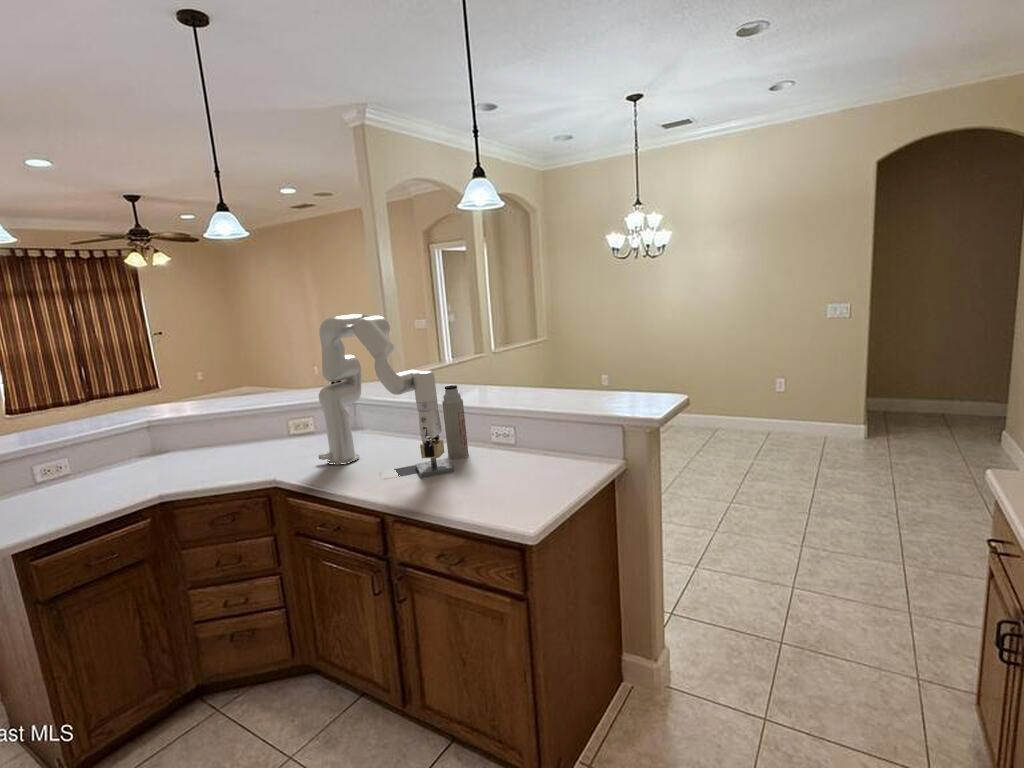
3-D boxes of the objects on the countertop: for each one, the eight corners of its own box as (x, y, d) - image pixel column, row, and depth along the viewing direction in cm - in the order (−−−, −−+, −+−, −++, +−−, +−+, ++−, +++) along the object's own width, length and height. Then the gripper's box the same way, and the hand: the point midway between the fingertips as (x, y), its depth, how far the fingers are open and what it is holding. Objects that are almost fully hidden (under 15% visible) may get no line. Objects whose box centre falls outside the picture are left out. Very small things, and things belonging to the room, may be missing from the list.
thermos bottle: (472, 453, 210) (465, 384, 205) (458, 459, 204) (451, 388, 199) (457, 451, 215) (450, 383, 210) (444, 457, 209) (436, 387, 204)
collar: (421, 458, 190) (420, 444, 189) (427, 452, 196) (426, 439, 195) (438, 457, 189) (437, 444, 188) (444, 452, 195) (442, 439, 194)
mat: (381, 480, 188) (381, 480, 187) (379, 472, 197) (379, 471, 197) (421, 473, 192) (421, 472, 192) (416, 465, 201) (416, 464, 201)
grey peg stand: (421, 478, 186) (417, 451, 184) (415, 469, 197) (412, 443, 195) (454, 472, 190) (451, 445, 188) (447, 463, 201) (444, 437, 199)
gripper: (428, 410, 180) (435, 461, 183) (444, 399, 197) (450, 446, 200) (408, 411, 182) (414, 461, 185) (425, 400, 198) (431, 446, 201)
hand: (432, 453), depth 192 cm, fingers closed on collar, 6 cm apart
